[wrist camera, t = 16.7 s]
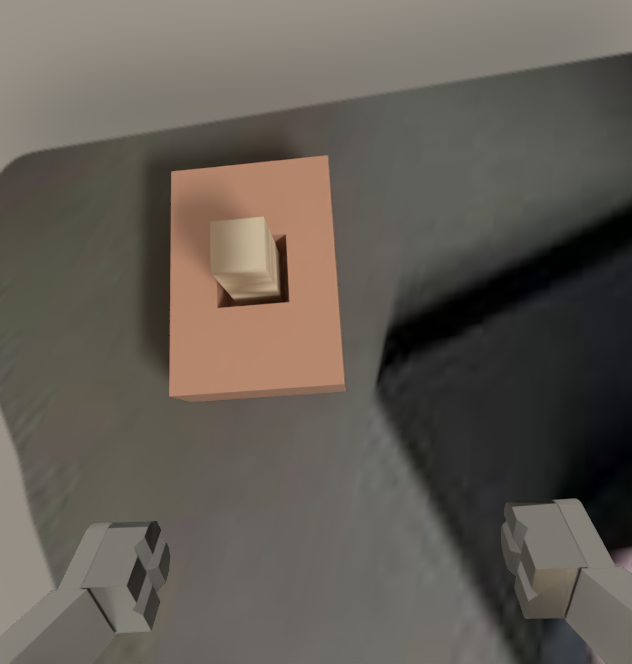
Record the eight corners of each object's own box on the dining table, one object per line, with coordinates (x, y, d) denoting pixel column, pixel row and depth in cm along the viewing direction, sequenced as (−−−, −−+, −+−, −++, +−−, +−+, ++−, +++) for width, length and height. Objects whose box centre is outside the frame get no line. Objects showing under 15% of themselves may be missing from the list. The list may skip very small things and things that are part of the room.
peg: (284, 265, 45) (263, 216, 36) (286, 306, 44) (265, 268, 35) (242, 268, 45) (210, 221, 36) (243, 309, 45) (210, 272, 35)
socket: (331, 187, 48) (327, 155, 42) (346, 391, 43) (344, 384, 38) (192, 201, 49) (171, 171, 43) (192, 401, 44) (169, 396, 39)
